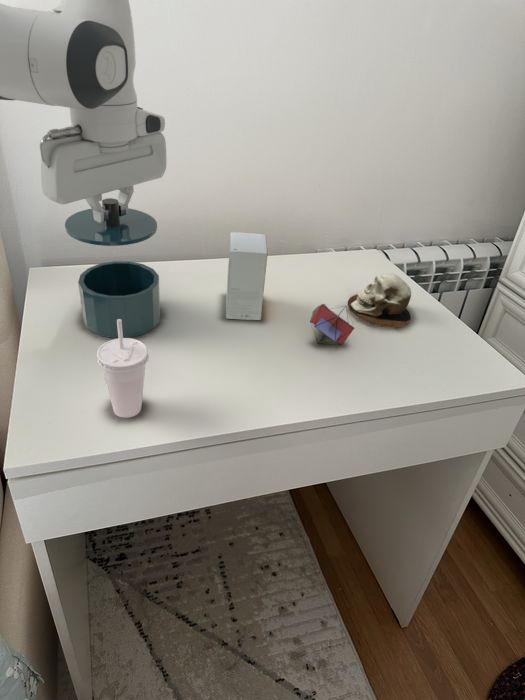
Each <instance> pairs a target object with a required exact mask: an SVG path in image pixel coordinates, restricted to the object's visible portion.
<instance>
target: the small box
mask: <svg viewBox="0 0 525 700" xmlns="http://www.w3.org/2000/svg"><path fill="white" fill-rule="evenodd" d="M268 253H269V252H268V244H267V234H265V233H264V234H263V233H253V232H252V233H250V232H239V231H238V232H237V231H230V234H229V250H228V264H227V281H226V297H225V319H227V320H229V319H230V320H243V321H245V320H247V321H261V320H262V315H263V303H264V294H265V293H264V292H265V283H266V274H267V273H266V272H267V263H268Z"/></svg>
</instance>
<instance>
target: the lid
mask: <svg viewBox="0 0 525 700" xmlns="http://www.w3.org/2000/svg"><path fill="white" fill-rule="evenodd" d="M117 199H118V198H113V197H112V198H111V197H109V198H104V199H102V201H101V206H102V207H103V208H104V209H107V210H109V215H108V216H109V220H108V221H105V222H102V223H99V222H97V221H95V220H94V217H93V209H92V208H87V209H84V210H80V211H78V212H75V213H72V214H71V215H70V216H69V217H67V218H66V219H65V222H64V230H65V232H66V234H68V236H70V237H71V238H73V239H74V240H76V241H79V242H81V243H84V244H89V245H94V246H101V247H103V246H104V247H116V246H119V247H120V246H128V245H134V244H138V243H141V242H145V241H146V240H148V239H150V238H152V237H153V236H155V234H156V233H157V231H158V222H157V219H155V218H154V217H153V216H152V215H150V214H148V213H146V212H144V211H142V210H138V209H134V208H129V207H128V214H127V215H124V216H119V201H118V200H117Z"/></svg>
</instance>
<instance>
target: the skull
mask: <svg viewBox="0 0 525 700" xmlns="http://www.w3.org/2000/svg"><path fill="white" fill-rule="evenodd" d="M411 298H412V290H411V287H410V285H409V284H408V283H407V282H406V281H405V280H404V279H403V278H402V277H401V276H399V275H397V274H395V273H393V272H391V273H390V272H386V273H381V274H378V275H375V277H374V282H371V283H368V284H367V285H366V287H365V288H364V290H362V291H360V292H359V293H357V294H354V295H352V296H350V297H349V298H348V300H347V309H348V310H349V311H350V313H352V314H353V315H354V316H356V317H357V318H358V319H360V320H362V321H363V322H366V323H369V324H370V325H372V326H377V327H382V328H390V329H391V328H396V329H397V328H401V327H404V326H407V325H408V324H409V323H411V320H412V315H411V312H410V311H409V310H408V309H407V307H408V305H409V304H410V302H411Z"/></svg>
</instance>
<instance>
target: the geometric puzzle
mask: <svg viewBox="0 0 525 700" xmlns="http://www.w3.org/2000/svg"><path fill="white" fill-rule="evenodd" d="M337 306H338V307H337ZM337 306H336V309H338V308H339V307H341V308H342V307H343V309H342V310H341V311H340V312H339V314H337V313H335V312H334V311H333V310H332V309H334V307H332V308H329V307H328V305H327V304H325V303H320V305H318V306H316V308H314V309H313V310H312V311H311V316H310V320H309V322H310V325H311V326H313V327H311V328H312V330H313V335H314V336H315V339H318V337H317V336H316V334H317V333H316V331H315V330H318V332H320V333H322V334H323V335H322V337H321V338H320V340H319V341H316V343H317V345H323V342H321V341H322V340H323V339H324V338H325V336H326V337H327V338H328V339H330V340H331V341H332V342H333V343H336V344H332V343H331V341H329V342H326V344H329V343H330V344H331V345H333V346H334V345H339V346H343V344H344V343H345V342H346V340H347V339H348V338H349V337H350V336H351V334H352V332H353V331H354V330H356V328H355V327H354V326H353V324H354V323H353V320H352V319H350V321H351V323H352V325H351V324H350V323H349V321H347V320H346V319H343V318H342V317H341V314H342V312H343V311H344V310H345V309H346V311H347V314H348V315H346V316H347V319H349V317H351V316H350V315H351V314H350V313H349V311H348V307H347V305H340V304H339V305H338V304H337ZM314 329H315V330H314Z"/></svg>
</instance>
